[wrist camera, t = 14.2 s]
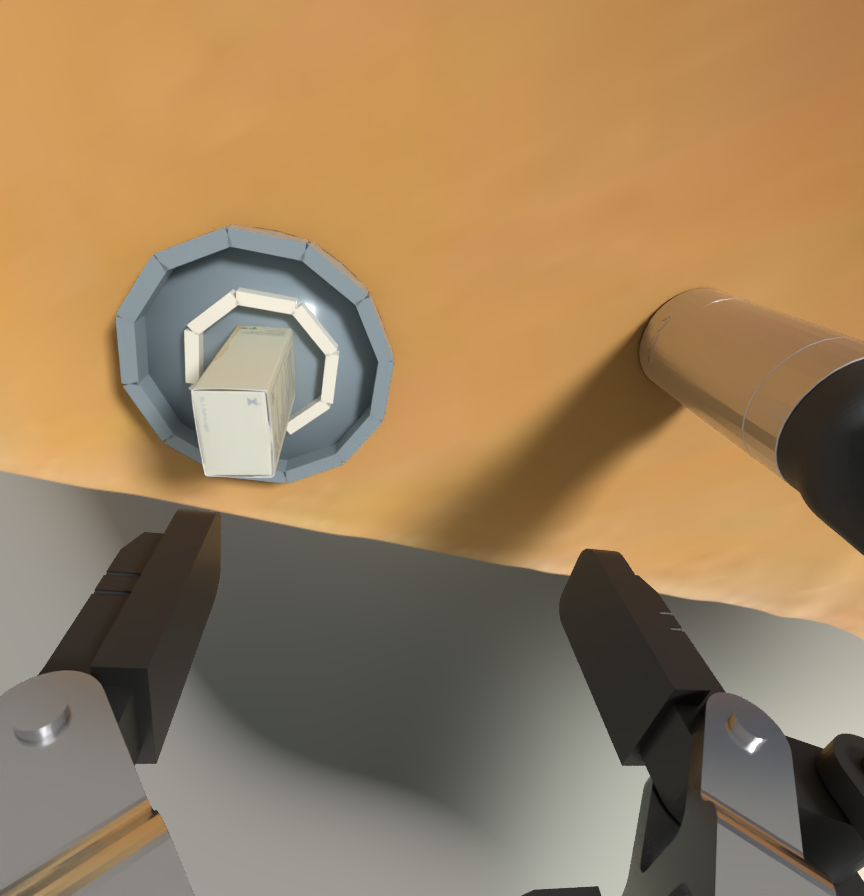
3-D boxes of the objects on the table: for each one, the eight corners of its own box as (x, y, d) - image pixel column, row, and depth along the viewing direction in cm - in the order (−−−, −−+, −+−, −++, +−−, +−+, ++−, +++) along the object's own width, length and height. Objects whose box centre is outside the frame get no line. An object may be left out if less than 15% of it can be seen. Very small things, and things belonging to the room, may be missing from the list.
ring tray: (408, 258, 38) (411, 265, 35) (370, 473, 47) (370, 492, 45) (126, 199, 34) (104, 201, 31) (144, 447, 43) (129, 466, 41)
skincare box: (236, 324, 38) (185, 383, 27) (295, 327, 38) (268, 387, 28) (243, 398, 41) (200, 478, 30) (298, 401, 42) (274, 479, 31)
